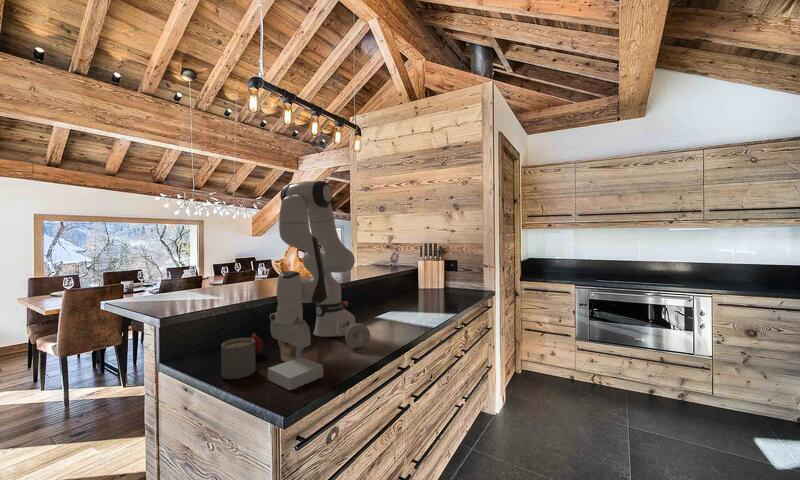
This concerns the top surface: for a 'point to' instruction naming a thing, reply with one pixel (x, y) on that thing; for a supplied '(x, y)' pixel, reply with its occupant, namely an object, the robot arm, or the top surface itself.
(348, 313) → the robot arm
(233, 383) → the top surface
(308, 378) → the painted block
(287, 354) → the maple cube
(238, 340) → the coffee mug
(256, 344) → the onion
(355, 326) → the donut
